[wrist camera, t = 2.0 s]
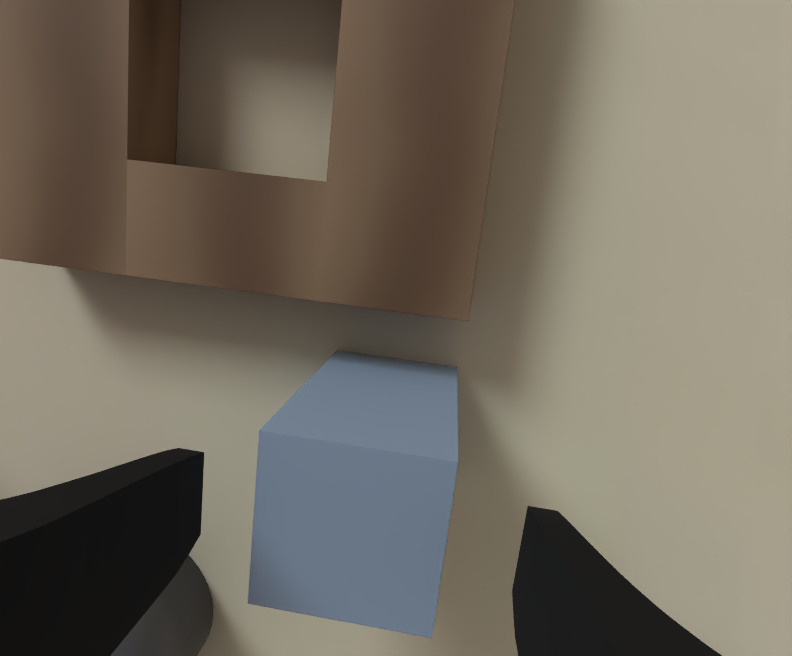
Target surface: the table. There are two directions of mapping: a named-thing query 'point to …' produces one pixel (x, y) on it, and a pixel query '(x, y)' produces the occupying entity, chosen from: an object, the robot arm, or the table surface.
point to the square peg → (358, 494)
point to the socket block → (245, 192)
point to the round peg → (173, 618)
